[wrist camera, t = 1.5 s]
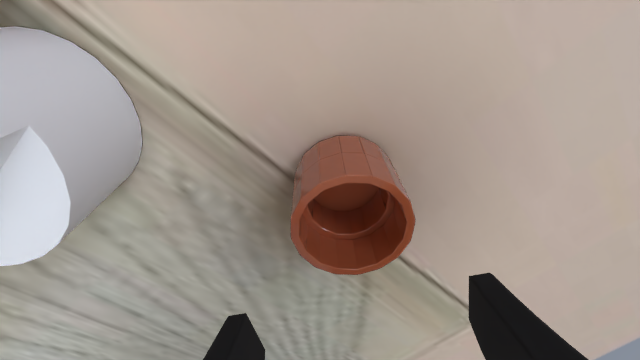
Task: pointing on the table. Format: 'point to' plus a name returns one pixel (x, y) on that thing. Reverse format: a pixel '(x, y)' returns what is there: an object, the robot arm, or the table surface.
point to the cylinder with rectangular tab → (57, 140)
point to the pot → (349, 207)
